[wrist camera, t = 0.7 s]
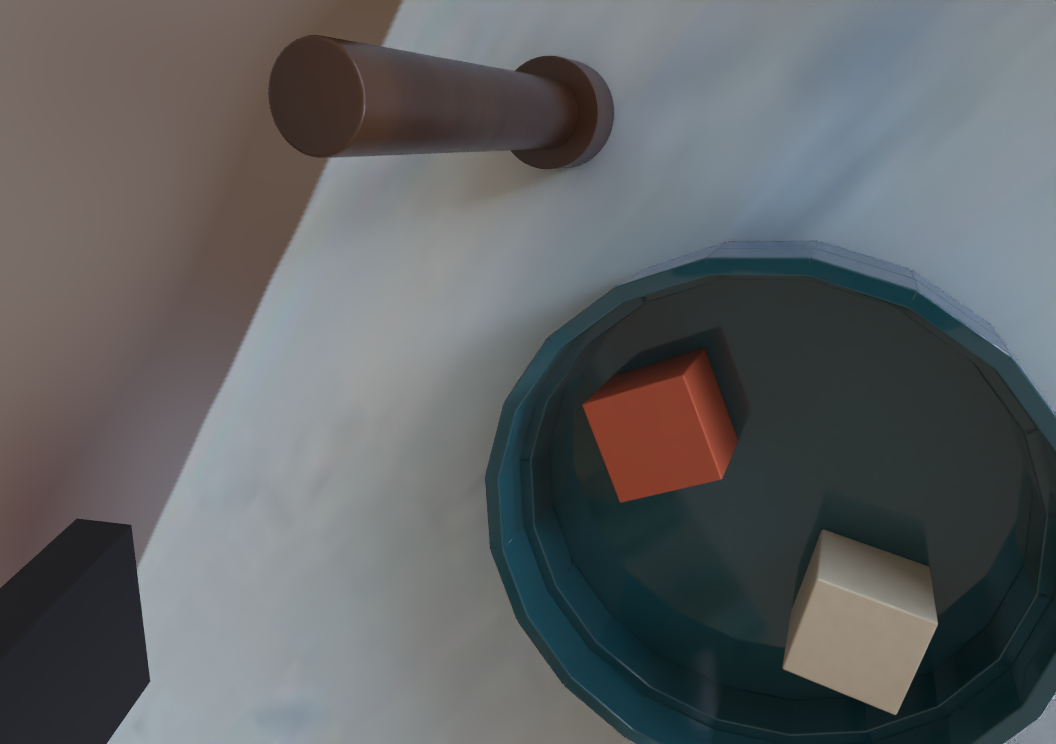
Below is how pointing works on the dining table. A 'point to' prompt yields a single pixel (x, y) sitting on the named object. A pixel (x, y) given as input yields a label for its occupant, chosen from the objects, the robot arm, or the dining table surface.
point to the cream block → (861, 621)
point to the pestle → (435, 104)
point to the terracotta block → (662, 426)
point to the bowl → (785, 502)
